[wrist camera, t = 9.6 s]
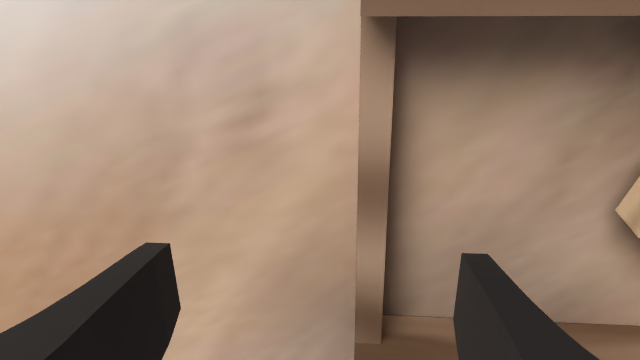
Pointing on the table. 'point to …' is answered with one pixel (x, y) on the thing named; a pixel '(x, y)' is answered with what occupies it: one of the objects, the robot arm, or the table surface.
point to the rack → (373, 183)
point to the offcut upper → (631, 208)
